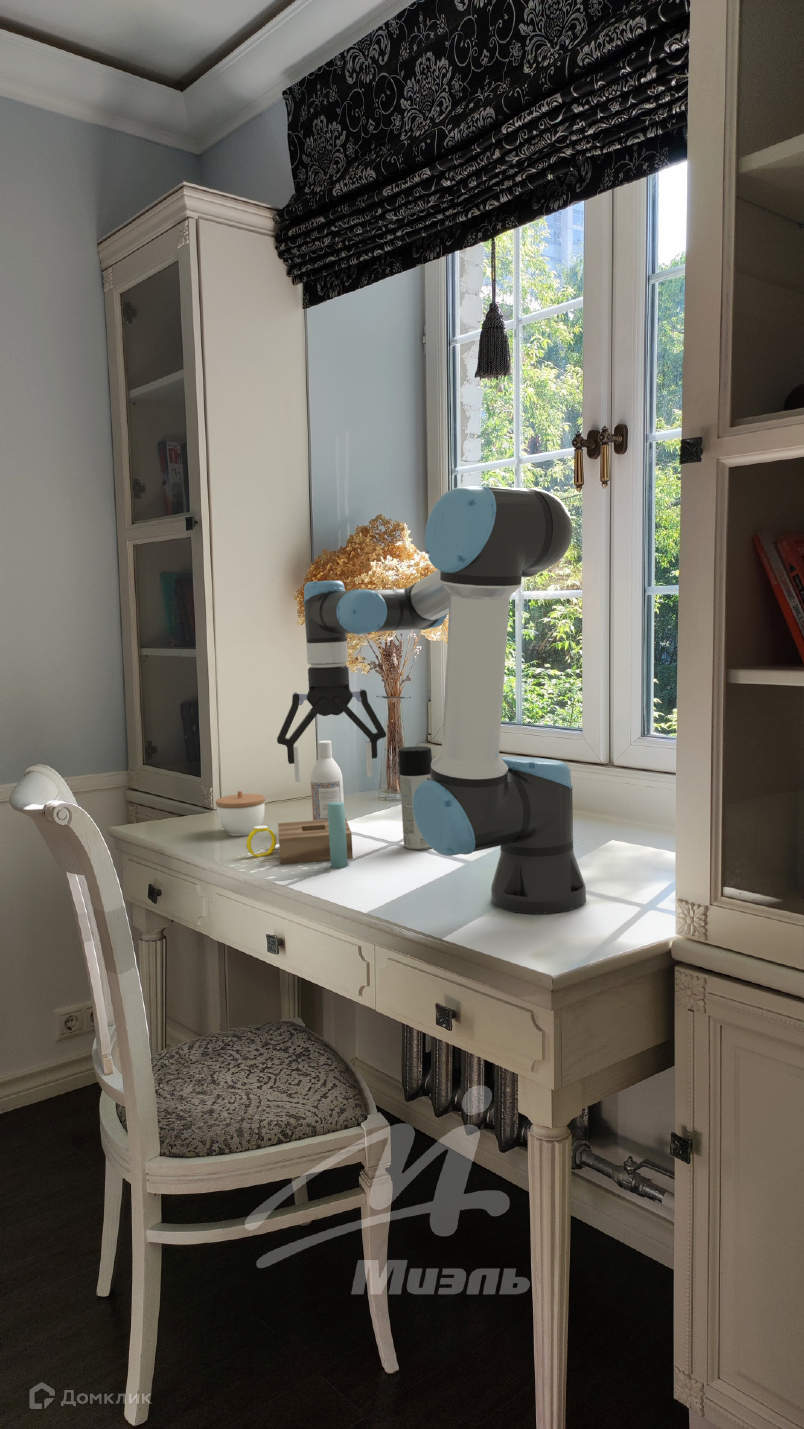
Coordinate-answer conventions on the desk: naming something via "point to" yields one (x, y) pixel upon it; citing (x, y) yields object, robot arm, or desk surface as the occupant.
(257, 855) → the watch
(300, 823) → the socket
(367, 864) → the desk surface
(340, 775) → the bath foam
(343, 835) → the peg
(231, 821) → the lidded jar
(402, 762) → the spray can
